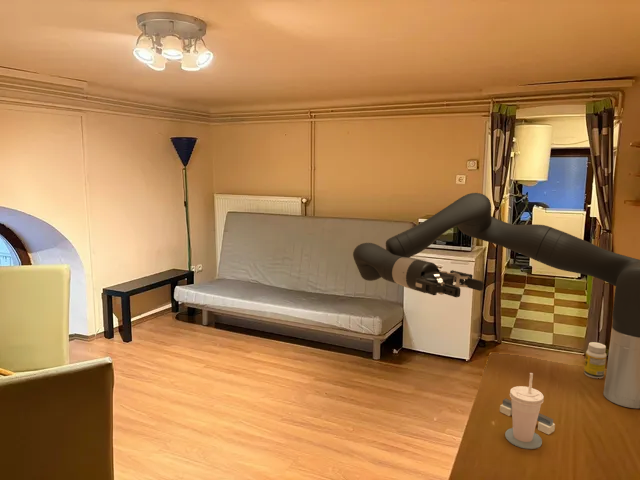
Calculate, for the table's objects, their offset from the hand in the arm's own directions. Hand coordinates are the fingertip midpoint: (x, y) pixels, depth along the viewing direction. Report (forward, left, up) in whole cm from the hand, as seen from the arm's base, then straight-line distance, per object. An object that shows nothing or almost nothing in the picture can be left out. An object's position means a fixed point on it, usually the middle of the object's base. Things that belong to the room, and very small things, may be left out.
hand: (471, 289), depth 109 cm
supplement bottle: (-37, +22, -28) cm, 51 cm away
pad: (+5, +15, -28) cm, 32 cm away
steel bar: (-2, +13, -26) cm, 30 cm away
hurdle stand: (-2, +13, -28) cm, 31 cm away
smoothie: (+5, +15, -28) cm, 32 cm away
